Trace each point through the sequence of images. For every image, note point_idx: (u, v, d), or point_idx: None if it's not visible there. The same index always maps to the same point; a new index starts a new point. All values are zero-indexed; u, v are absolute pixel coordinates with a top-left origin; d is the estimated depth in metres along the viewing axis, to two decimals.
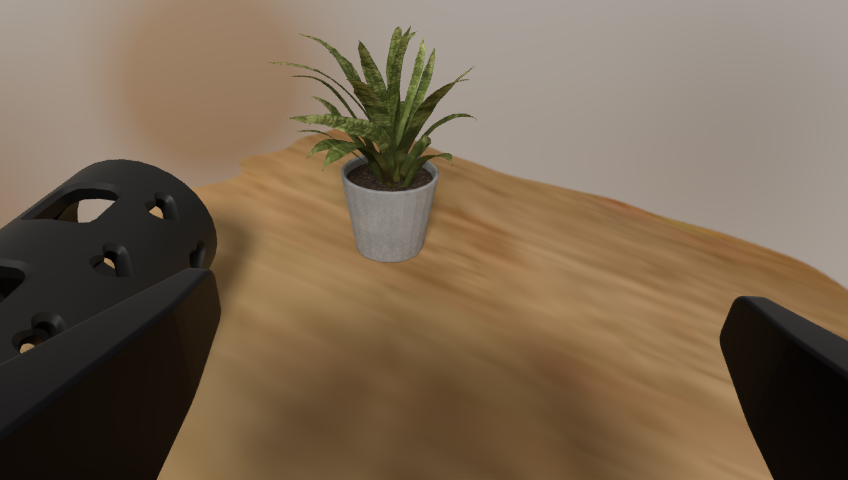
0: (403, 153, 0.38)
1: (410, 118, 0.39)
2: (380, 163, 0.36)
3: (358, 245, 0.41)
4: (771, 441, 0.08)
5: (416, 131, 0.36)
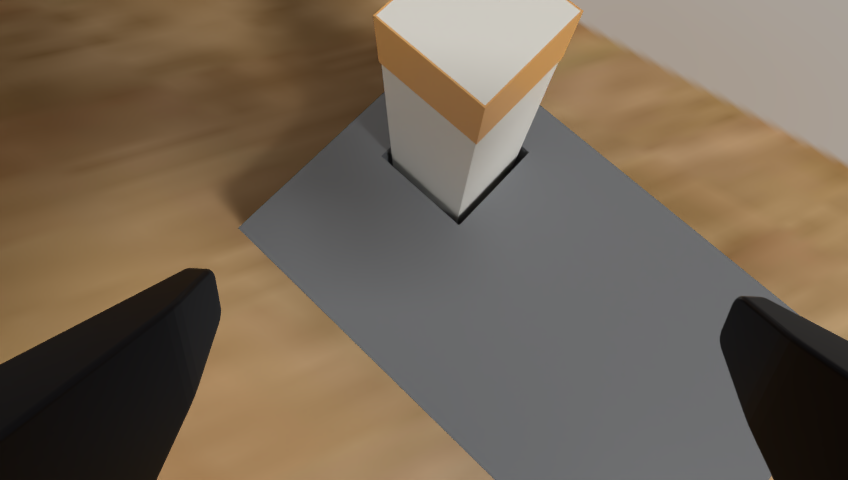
0: None
1: None
2: None
3: None
4: (771, 441, 0.08)
5: None
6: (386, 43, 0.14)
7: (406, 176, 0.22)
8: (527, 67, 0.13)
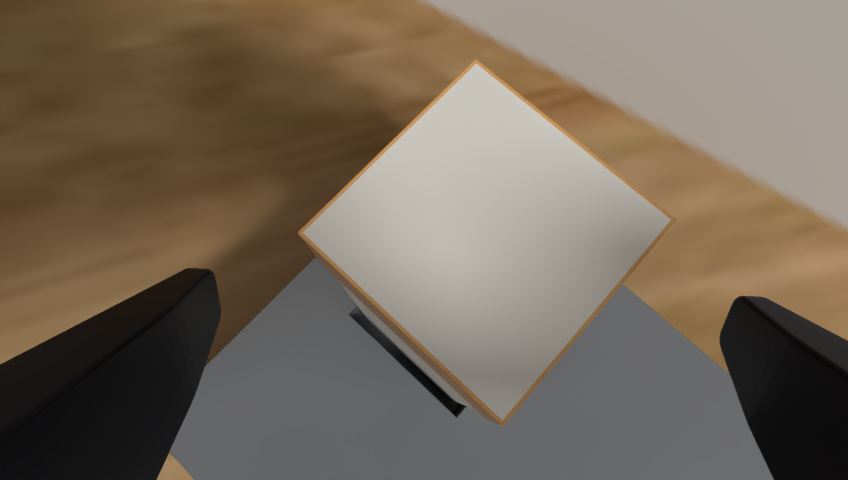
0: None
1: None
2: None
3: None
4: (771, 441, 0.08)
5: None
6: (326, 264, 0.08)
7: (385, 335, 0.16)
8: (579, 333, 0.07)
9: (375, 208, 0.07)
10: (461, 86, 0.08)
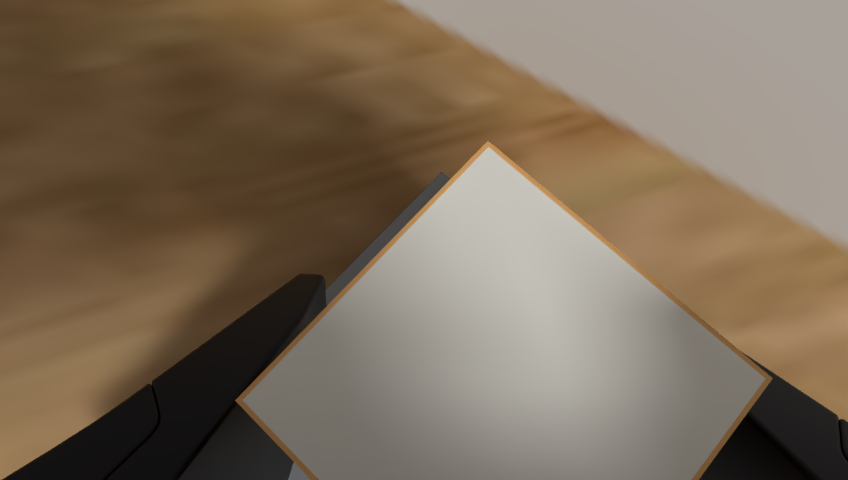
0: None
1: None
2: None
3: None
4: None
5: None
6: None
7: None
8: None
9: (346, 362, 0.05)
10: (468, 180, 0.06)
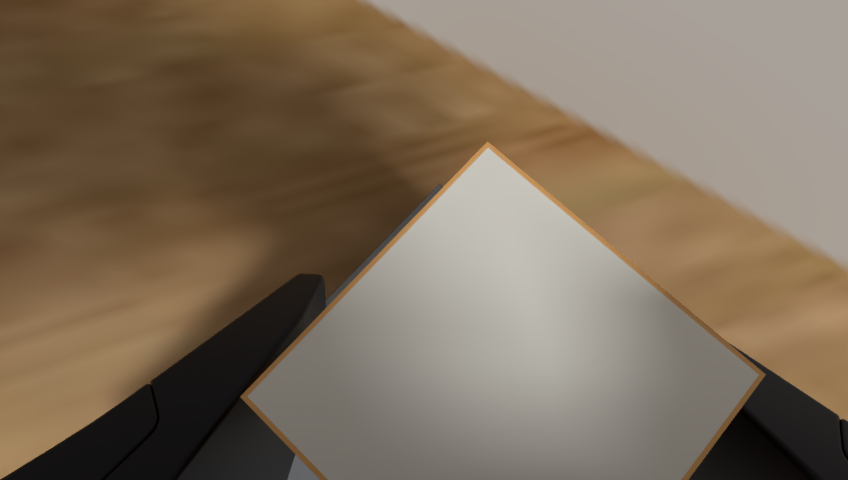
0: None
1: None
2: None
3: None
4: None
5: None
6: None
7: None
8: None
9: (349, 359, 0.05)
10: (467, 180, 0.06)
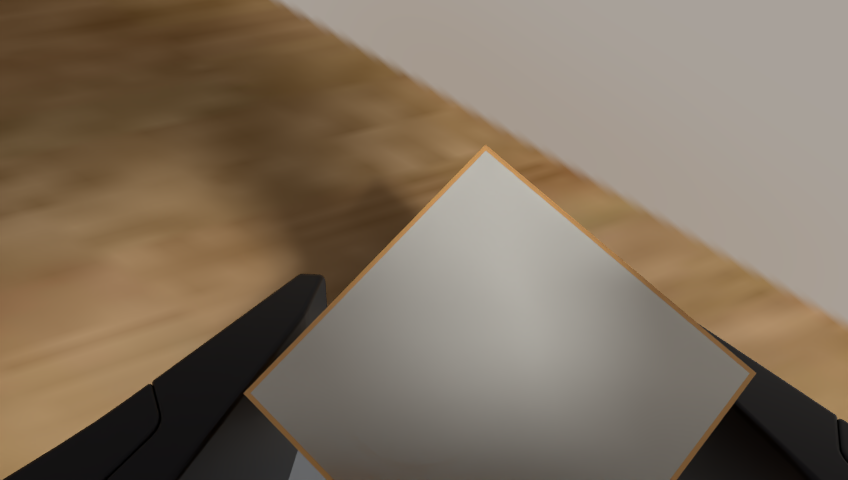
0: None
1: None
2: None
3: None
4: None
5: None
6: None
7: None
8: None
9: (349, 357, 0.06)
10: (466, 183, 0.06)
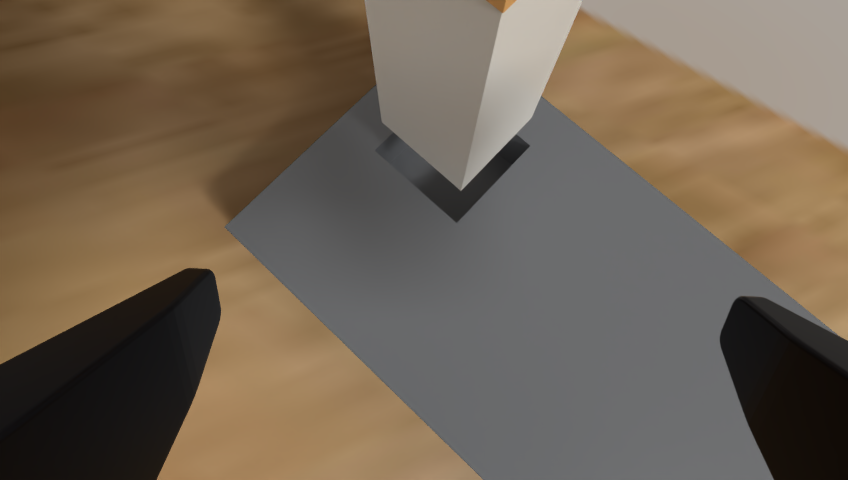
0: None
1: None
2: None
3: None
4: (771, 441, 0.08)
5: None
6: None
7: (397, 113, 0.17)
8: None
9: None
10: None
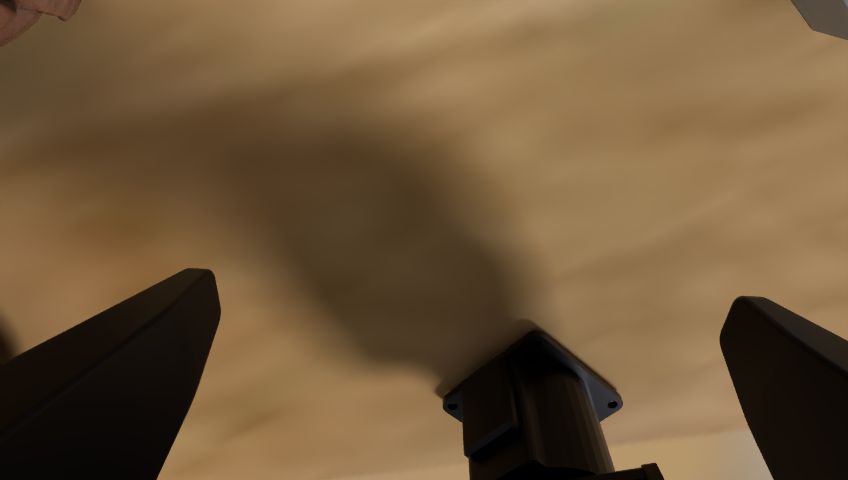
0: None
1: None
2: None
3: None
4: (771, 441, 0.08)
5: None
6: None
7: None
8: None
9: None
10: None
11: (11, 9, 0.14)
